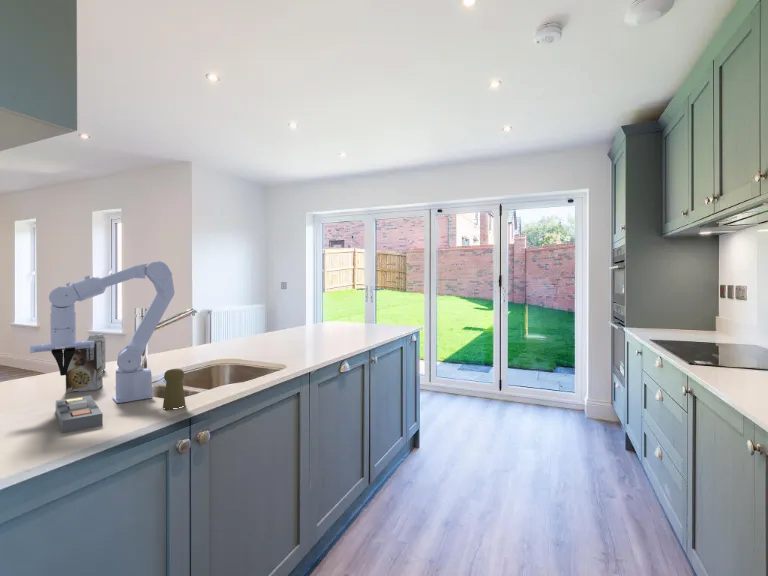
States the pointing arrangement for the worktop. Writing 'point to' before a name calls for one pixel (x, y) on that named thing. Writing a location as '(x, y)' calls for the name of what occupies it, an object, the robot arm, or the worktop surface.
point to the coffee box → (85, 369)
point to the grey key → (77, 404)
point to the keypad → (80, 421)
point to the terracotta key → (80, 412)
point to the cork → (174, 389)
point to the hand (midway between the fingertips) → (63, 374)
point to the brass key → (73, 400)
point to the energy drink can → (101, 337)
